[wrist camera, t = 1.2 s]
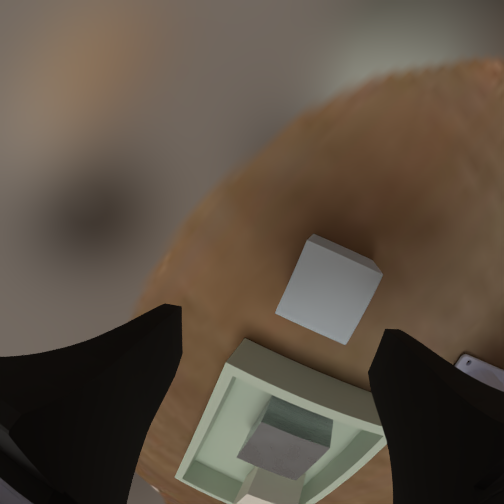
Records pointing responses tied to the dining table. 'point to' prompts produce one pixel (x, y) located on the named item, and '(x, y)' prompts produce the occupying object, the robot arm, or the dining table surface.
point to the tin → (286, 439)
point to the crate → (251, 405)
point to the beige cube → (269, 488)
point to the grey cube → (329, 289)
